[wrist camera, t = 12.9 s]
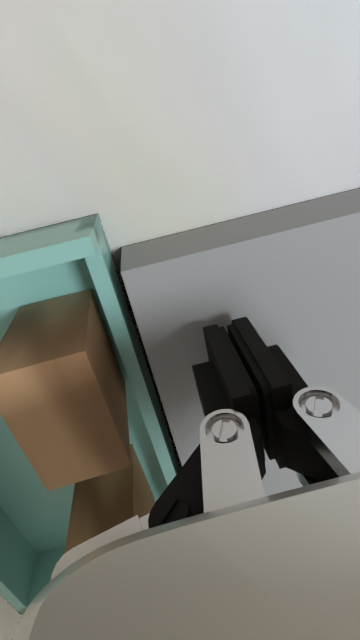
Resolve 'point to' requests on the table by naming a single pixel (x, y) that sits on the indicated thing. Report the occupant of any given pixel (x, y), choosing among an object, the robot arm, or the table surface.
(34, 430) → the wooden block
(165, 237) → the board
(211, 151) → the table surface
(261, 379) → the robot arm
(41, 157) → the table surface
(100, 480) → the brown angular block
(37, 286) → the tray
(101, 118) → the table surface
